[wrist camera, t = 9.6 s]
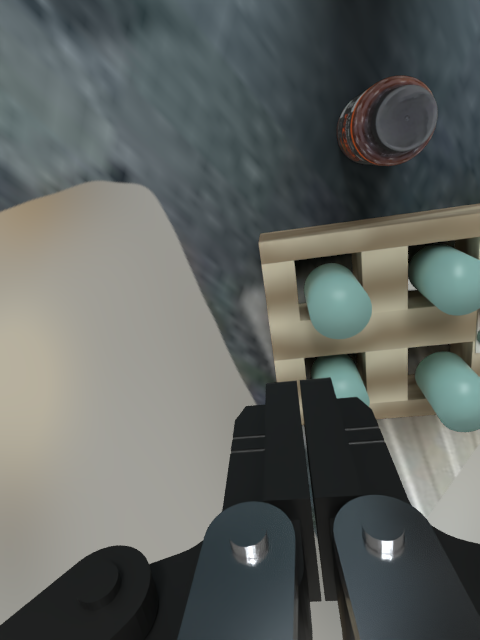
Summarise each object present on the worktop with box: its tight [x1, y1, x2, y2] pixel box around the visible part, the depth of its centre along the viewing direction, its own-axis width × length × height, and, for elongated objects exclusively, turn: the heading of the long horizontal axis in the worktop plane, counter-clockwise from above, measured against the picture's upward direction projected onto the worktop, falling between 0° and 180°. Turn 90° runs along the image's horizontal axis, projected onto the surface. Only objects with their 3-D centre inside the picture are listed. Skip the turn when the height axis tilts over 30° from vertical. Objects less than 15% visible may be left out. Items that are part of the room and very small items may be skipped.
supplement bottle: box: [337, 76, 438, 166], centre depth 31 cm, size 6×6×11 cm
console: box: [259, 204, 480, 425], centre depth 40 cm, size 20×24×5 cm
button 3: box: [415, 351, 480, 432], centre depth 36 cm, size 5×5×6 cm
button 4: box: [408, 244, 480, 316], centre depth 35 cm, size 5×5×6 cm
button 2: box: [304, 263, 372, 339], centre depth 34 cm, size 5×5×6 cm
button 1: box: [311, 354, 370, 406], centre depth 40 cm, size 5×5×6 cm
